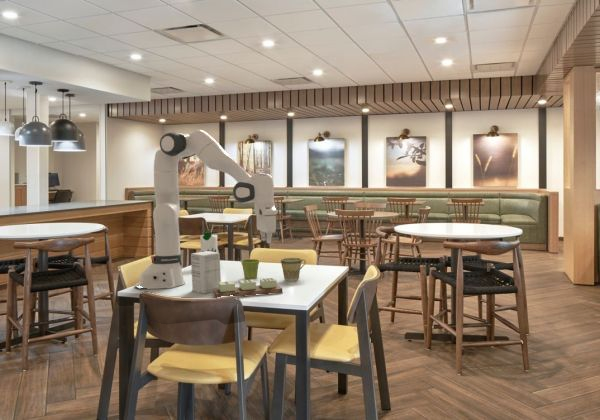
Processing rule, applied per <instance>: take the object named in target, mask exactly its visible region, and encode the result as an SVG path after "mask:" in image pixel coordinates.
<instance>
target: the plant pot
mask: <svg viewBox="0 0 600 420" xmlns="http://www.w3.org/2000/svg"><path fill="white" fill-rule="evenodd" d="M260 262H261V260H260V259H256V258H254V259H253V258H252V259H242V260H240V263H241V266H242V271H243V276H244V279H245V280H252V279H253V280H254V279H257V277H258V269H259V264H260Z"/></svg>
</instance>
